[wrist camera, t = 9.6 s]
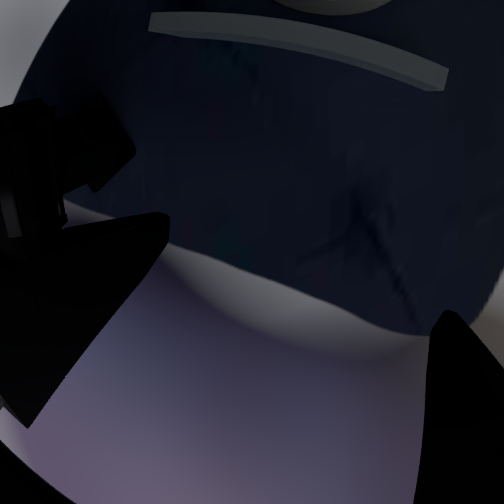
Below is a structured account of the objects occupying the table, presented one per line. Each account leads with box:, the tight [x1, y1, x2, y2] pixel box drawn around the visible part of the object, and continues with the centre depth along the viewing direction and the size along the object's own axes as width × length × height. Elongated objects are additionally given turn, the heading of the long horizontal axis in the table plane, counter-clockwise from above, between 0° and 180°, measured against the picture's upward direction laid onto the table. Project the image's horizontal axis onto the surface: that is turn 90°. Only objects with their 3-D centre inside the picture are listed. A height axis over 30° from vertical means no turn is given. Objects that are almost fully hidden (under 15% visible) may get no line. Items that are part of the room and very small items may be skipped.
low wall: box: [148, 12, 449, 91], centre depth 14 cm, size 16×1×4 cm, turn 77°
